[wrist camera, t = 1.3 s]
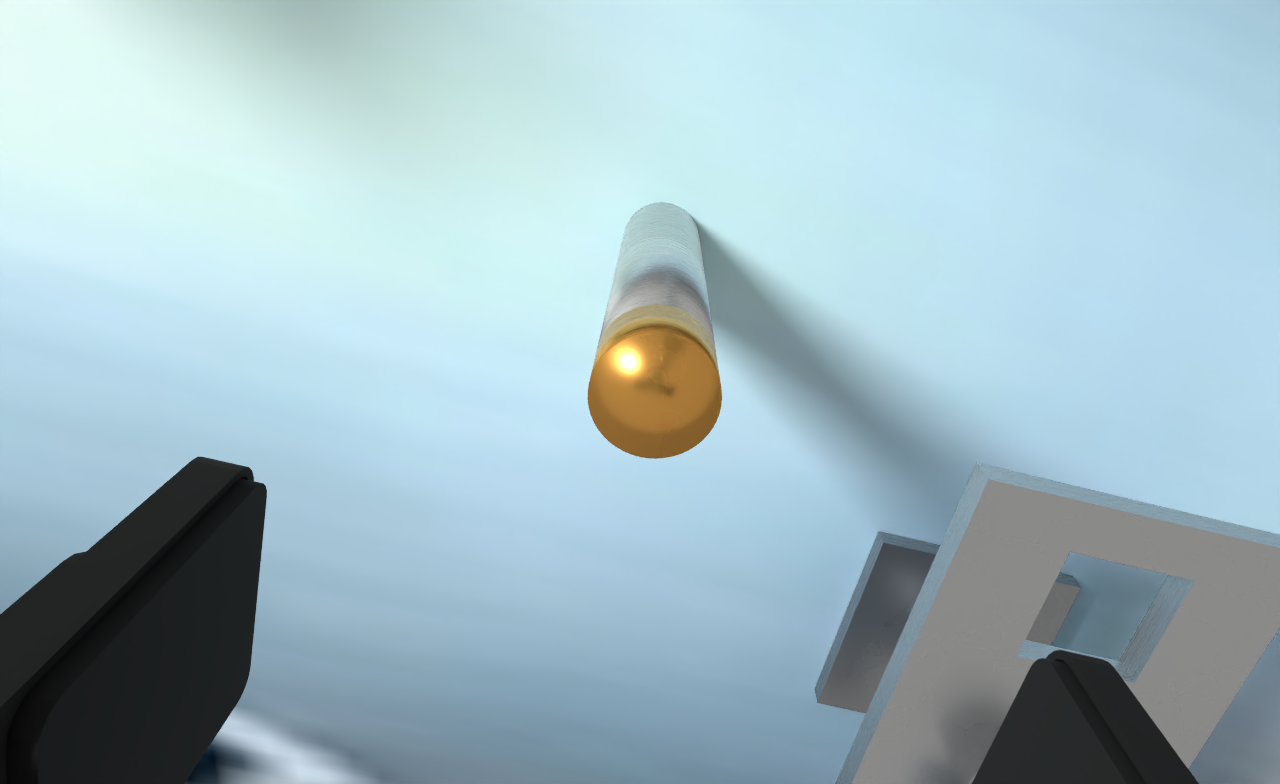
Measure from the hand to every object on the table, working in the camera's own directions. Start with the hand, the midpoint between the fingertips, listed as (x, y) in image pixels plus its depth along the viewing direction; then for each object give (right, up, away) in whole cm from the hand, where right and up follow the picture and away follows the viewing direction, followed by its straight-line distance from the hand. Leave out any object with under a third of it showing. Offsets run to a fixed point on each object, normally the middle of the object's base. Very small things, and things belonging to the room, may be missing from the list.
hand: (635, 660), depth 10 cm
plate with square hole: (+12, -7, +25) cm, 29 cm away
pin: (+1, +8, +20) cm, 21 cm away
